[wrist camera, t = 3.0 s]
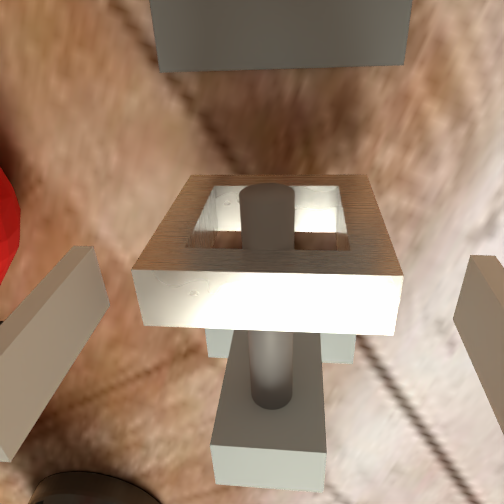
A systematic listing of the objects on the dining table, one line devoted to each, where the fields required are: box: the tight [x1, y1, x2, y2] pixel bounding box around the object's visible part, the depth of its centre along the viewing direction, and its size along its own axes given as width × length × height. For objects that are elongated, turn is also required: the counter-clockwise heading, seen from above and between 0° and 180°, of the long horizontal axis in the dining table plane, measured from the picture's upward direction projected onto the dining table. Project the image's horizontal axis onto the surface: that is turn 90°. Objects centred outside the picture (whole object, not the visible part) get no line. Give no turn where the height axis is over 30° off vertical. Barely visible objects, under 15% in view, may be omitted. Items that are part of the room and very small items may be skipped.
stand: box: [205, 183, 356, 493], centre depth 21 cm, size 16×10×12 cm, turn 3°
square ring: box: [131, 174, 404, 335], centre depth 18 cm, size 9×2×9 cm, turn 93°
